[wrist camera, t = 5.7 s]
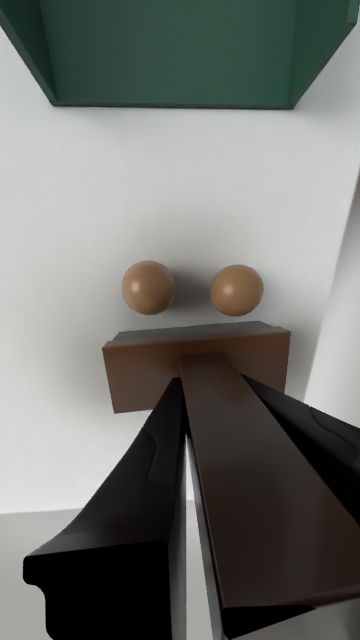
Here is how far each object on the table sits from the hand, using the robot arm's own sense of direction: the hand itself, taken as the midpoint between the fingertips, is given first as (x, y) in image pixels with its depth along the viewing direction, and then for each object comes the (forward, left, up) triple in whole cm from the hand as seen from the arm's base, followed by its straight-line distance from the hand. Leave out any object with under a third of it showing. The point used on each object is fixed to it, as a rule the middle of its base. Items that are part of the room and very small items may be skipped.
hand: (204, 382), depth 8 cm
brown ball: (0, -5, -3) cm, 5 cm away
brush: (0, 0, -4) cm, 4 cm away
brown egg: (+4, -3, -3) cm, 6 cm away
